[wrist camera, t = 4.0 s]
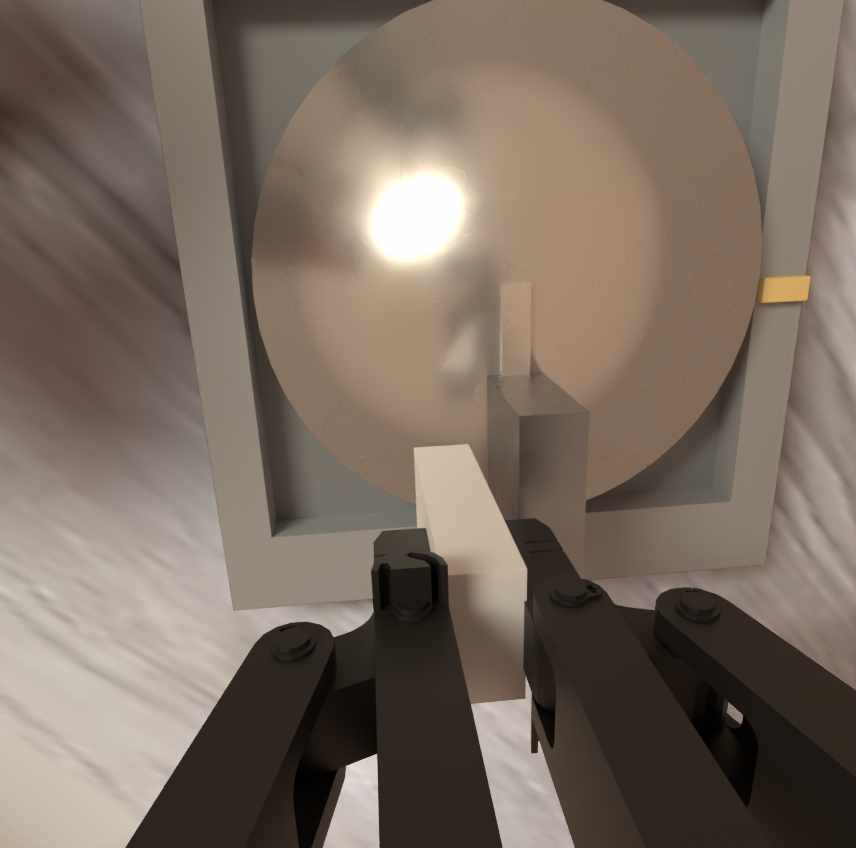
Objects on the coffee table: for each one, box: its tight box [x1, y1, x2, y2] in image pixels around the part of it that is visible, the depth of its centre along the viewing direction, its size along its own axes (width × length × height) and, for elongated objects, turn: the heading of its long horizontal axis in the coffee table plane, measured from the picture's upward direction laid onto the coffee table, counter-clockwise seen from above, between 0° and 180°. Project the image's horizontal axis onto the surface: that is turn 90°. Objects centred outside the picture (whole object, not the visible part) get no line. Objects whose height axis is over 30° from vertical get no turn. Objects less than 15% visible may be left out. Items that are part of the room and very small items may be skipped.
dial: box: [251, 0, 762, 579], centre depth 16 cm, size 14×14×6 cm
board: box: [139, 0, 844, 611], centre depth 19 cm, size 20×18×3 cm
